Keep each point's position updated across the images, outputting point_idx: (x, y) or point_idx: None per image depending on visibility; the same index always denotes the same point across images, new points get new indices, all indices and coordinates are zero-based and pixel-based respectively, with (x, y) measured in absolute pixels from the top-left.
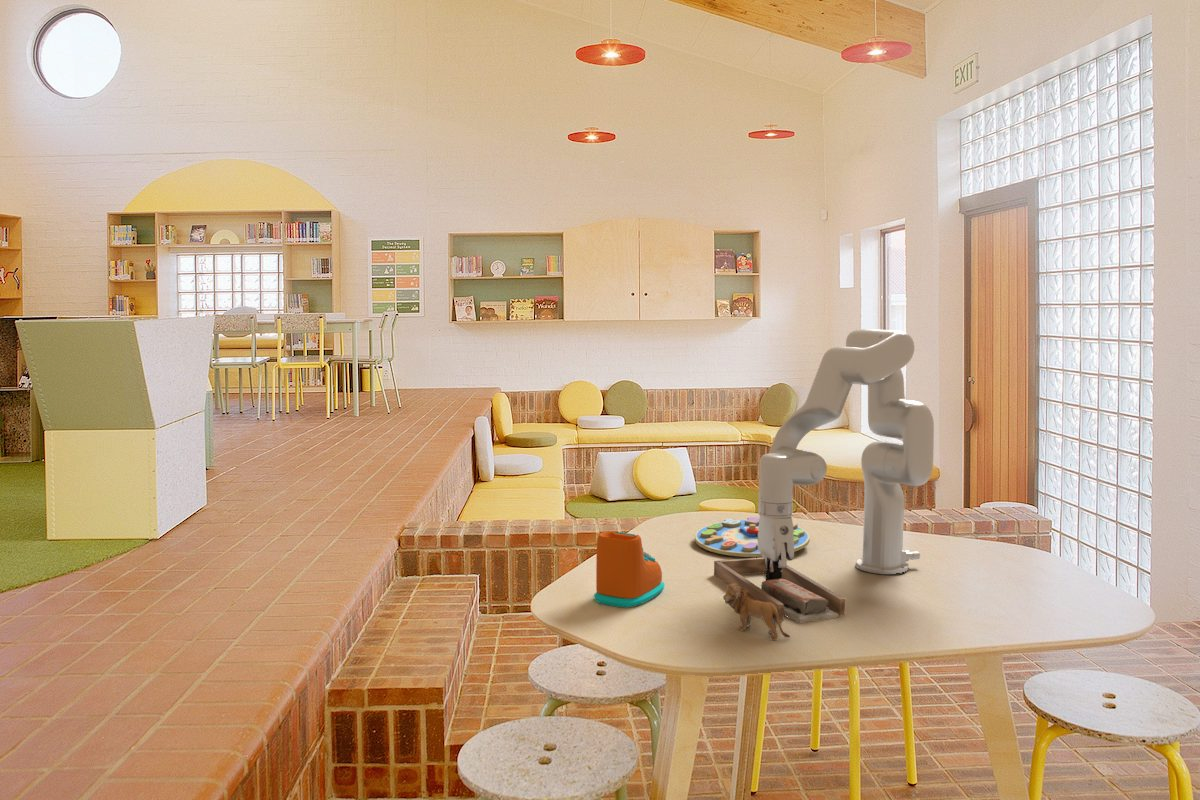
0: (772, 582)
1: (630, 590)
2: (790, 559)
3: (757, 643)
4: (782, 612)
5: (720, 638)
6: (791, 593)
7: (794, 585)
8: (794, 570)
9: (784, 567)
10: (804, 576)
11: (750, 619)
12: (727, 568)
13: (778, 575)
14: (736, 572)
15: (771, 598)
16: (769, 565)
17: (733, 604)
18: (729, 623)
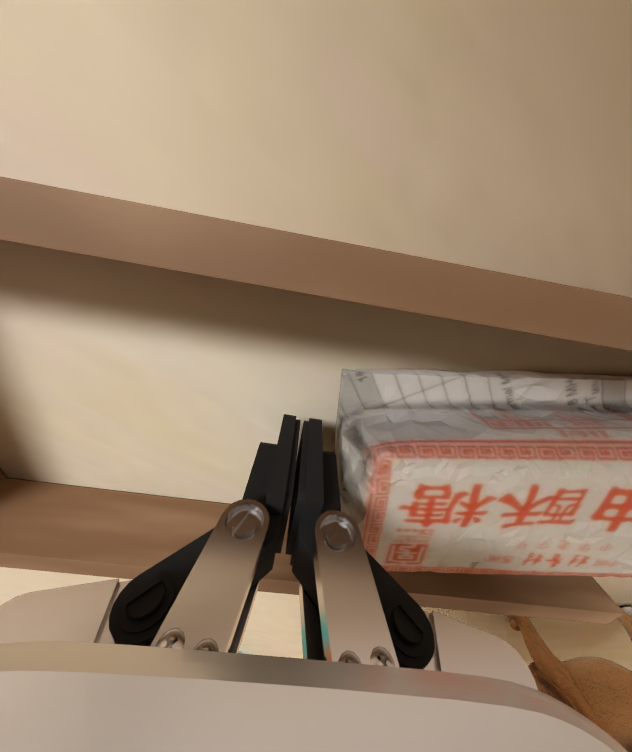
0: (405, 559)
1: None
2: (502, 686)
3: (602, 629)
4: (588, 577)
5: (519, 652)
6: (605, 575)
7: (527, 503)
8: (137, 227)
9: (500, 653)
10: (366, 272)
11: (537, 634)
12: (59, 567)
13: (337, 507)
14: (139, 567)
15: (539, 613)
16: (252, 588)
17: None
18: (465, 620)
